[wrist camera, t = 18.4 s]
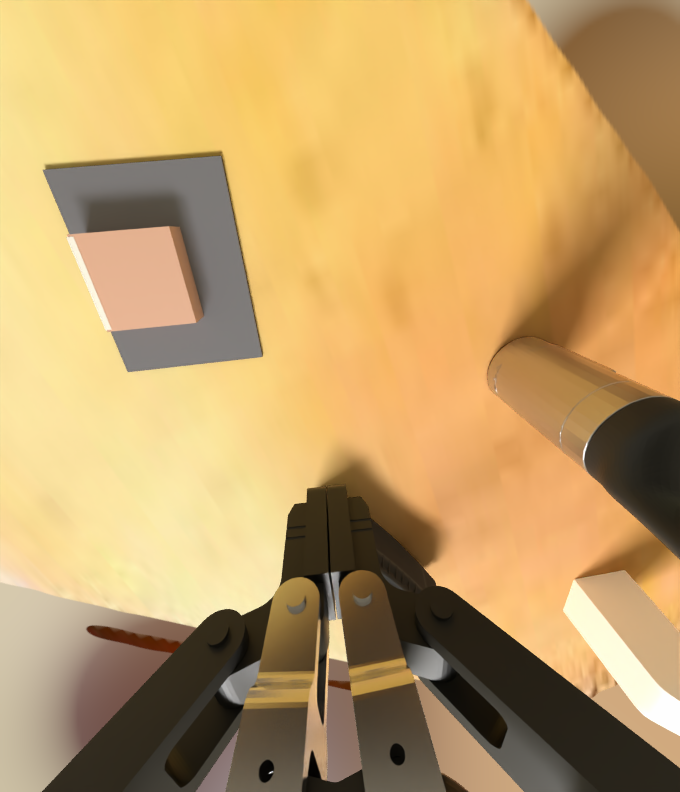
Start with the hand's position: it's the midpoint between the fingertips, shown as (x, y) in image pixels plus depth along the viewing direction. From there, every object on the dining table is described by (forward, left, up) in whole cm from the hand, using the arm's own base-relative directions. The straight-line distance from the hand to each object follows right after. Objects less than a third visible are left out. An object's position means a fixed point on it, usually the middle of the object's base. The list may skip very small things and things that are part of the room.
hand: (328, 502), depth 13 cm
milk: (-55, +68, -29) cm, 92 cm away
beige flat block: (+12, -6, -27) cm, 30 cm away
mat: (+15, -6, -29) cm, 33 cm away
